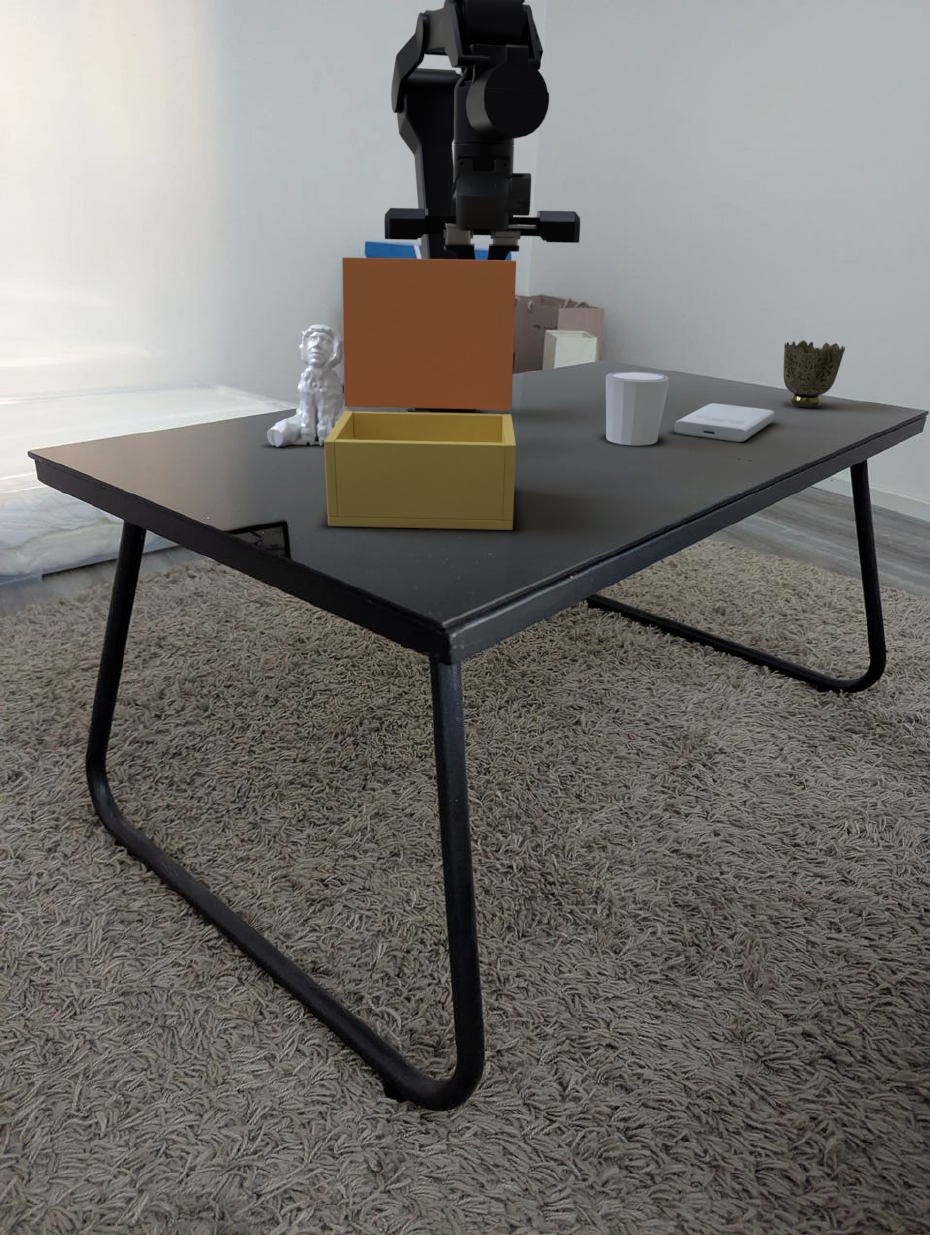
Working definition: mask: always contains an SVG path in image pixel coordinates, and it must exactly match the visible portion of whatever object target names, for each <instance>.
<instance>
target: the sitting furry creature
mask: <svg viewBox="0 0 930 1235" xmlns="http://www.w3.org/2000/svg"><path fill="white" fill-rule="evenodd" d="M300 335H301V336H302V337H301V343H300V344H299V346H298V350H299V351H300V354H301V357H300V360H301V361H302V362H303V363H304V364H305V365H306V368H305V370H304V371H303V372H302V373H300V380H299V381H298V385H297V389H296V394H297V397H298V399H299V406H298V407H297V408H296V409H295V414H294V415H293V416H290V417H288V418H284V419H282V420H279V421H277V422H275V424H274V425H273V426H271V428H268V430H267V432H266V438H267V440H268V442H269V444H270V445H272V446H275V447H276V448H281V447H286V446H290V445H296V446H297V445H303V446H307V444H309V446H314V445H319V446H321V447H323V446H324V441H325V440H326V438H327V437H328V435H329V434H330V432H331V431H332V429H333V428H334V427H335V425H336V424H337V422H338V421H339V419H340V418H341V416H342V415H343V413H344V412H345V411H350V409H349V407H345V406H344V386H343V383H342V382H341V377H340V376H338V372H337V370H335V369H334V368H335V367H337V365H340V364H342V359H343V358H344V343H343V338H341V336H340V334H339V332H338V331H337V330H336V329H335V328H332V327H330V326H329V325H326V324H325V323H321V324H318V323H316V324H313V325H310V326H309V327H308V328H307V329H305V330H300ZM316 440H318V441H316Z"/></svg>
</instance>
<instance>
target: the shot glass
mask: <svg viewBox="0 0 930 1235" xmlns="http://www.w3.org/2000/svg"><path fill="white" fill-rule="evenodd" d="M670 381H671V379H670V377H669V376H667V375H665V374H660V373H655V372H649V371H637V370H634V371H633V370H626V371H614V372H609V373H607V374H606V375H605V436H606V440H607V441H608V442H611V443H613V444H616V445H617V444H618V445H622V446H623V445H625V446H650V445H653V444H654V445H655V444H656V443H658V440H659V436H660V435H659V434H660V429H661V424H662V419H663V414H664V409H665V405H666V404H665V403H666V399H667V394H668V390H669V385H670Z"/></svg>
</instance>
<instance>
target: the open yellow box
mask: <svg viewBox="0 0 930 1235" xmlns="http://www.w3.org/2000/svg"><path fill="white" fill-rule="evenodd" d="M513 423H514V422H513V417H512V414H511V413H485V412H484V413H483V412H482V413H481V412H480V413H477V412H476V413H475V412H471V413H436V412H408V411H386V410H385V411H384V410H383V411H381V410H380V411H378V410H349V411H345V412H344V413H343V415H342V416H341V418H340V419H339V421H338V422H337V424H336V425H335V427H334V428H333V429H332V431H331V432H330V434H329V435H328V437H327V438H326V440H325V441H324V444H323V447H324V448H323V449H324V465H325V467H324V468H325V488H326V506H327V508H326V509H327V525H328V527H350V528H353V527H354V528H355V527H356V528H362V527H363V528H396V529H397V528H400V529H405V528H406V529H407V528H408V529H444V530H445V529H447V530H496V531H497V530H498V531H512V530H513V529H514V528H513V527H514V521H513V520H514V508H515V507H514V504H515V483H516V482H515V480H516V458H517V457H516V455H517V443H516V436H515V430H514V424H513Z"/></svg>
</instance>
